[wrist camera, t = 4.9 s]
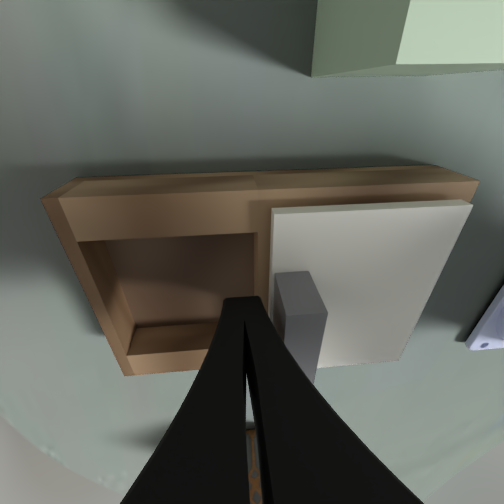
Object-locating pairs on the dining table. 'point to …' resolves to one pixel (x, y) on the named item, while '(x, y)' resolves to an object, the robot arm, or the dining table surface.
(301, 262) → the cover
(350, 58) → the block
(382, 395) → the dining table surface
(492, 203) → the dining table surface
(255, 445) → the vase
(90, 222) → the wooden tray
